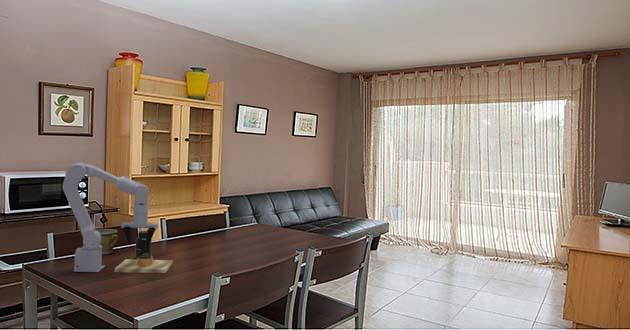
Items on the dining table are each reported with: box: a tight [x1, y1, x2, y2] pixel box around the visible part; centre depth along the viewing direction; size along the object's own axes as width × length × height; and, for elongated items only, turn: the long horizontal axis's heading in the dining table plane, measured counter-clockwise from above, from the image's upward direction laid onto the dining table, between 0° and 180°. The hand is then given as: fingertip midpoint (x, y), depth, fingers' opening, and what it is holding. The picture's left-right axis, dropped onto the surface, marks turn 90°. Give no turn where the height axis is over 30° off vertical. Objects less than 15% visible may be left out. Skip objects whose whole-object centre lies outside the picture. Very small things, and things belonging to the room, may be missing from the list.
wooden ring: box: [136, 255, 154, 266], centre depth 185 cm, size 6×6×3 cm
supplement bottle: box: [134, 230, 153, 259], centre depth 200 cm, size 7×7×12 cm
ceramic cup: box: [97, 228, 119, 255], centre depth 205 cm, size 13×10×10 cm
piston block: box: [114, 253, 174, 274], centre depth 185 cm, size 20×14×6 cm
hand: (139, 245), depth 186 cm, fingers open, 7 cm apart
